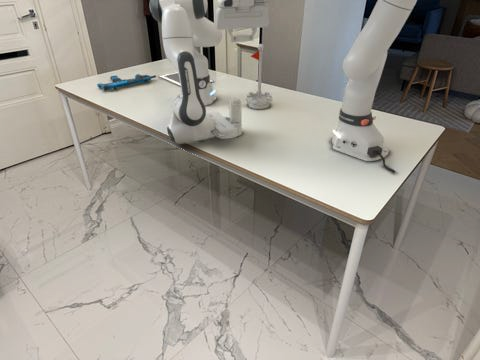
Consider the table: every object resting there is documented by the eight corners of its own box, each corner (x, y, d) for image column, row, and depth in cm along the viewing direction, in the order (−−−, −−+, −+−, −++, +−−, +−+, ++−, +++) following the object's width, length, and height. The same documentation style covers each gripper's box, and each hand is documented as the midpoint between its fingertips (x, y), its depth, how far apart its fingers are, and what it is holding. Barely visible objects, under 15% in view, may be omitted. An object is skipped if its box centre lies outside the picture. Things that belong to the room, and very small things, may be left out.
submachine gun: (141, 68, 224) (160, 75, 207) (142, 74, 226) (161, 81, 209) (89, 78, 205) (105, 86, 189) (91, 85, 207) (107, 93, 191)
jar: (239, 130, 150) (239, 96, 142) (242, 135, 146) (242, 100, 138) (228, 131, 149) (227, 97, 141) (231, 136, 145) (230, 101, 137)
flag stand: (265, 99, 183) (267, 40, 167) (275, 107, 173) (279, 45, 156) (242, 102, 179) (242, 42, 163) (252, 111, 169) (253, 48, 152)
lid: (231, 40, 130) (231, 35, 129) (243, 38, 133) (243, 33, 132) (240, 42, 126) (240, 37, 125) (253, 40, 129) (253, 35, 128)
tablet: (158, 76, 219) (158, 76, 219) (185, 70, 230) (185, 70, 230) (186, 88, 199) (186, 87, 198) (213, 81, 210) (213, 81, 209)
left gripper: (217, 130, 130) (248, 123, 135) (198, 112, 146) (227, 106, 151) (217, 144, 134) (248, 137, 139) (199, 125, 149) (227, 120, 154)
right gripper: (266, -2, 127) (265, 37, 134) (212, 0, 122) (214, 41, 130) (272, -1, 122) (270, 40, 129) (216, 2, 117) (218, 44, 125)
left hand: (237, 121), depth 145 cm, fingers closed on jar, 5 cm apart
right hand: (242, 41), depth 129 cm, fingers closed on lid, 5 cm apart
